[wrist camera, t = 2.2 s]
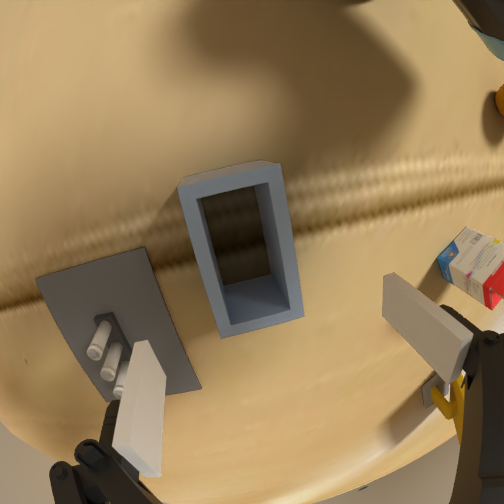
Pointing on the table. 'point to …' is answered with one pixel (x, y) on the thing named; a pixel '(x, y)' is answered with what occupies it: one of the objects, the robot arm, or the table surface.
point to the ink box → (475, 266)
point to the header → (116, 320)
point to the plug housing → (276, 239)
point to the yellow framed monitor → (453, 409)
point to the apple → (500, 99)
